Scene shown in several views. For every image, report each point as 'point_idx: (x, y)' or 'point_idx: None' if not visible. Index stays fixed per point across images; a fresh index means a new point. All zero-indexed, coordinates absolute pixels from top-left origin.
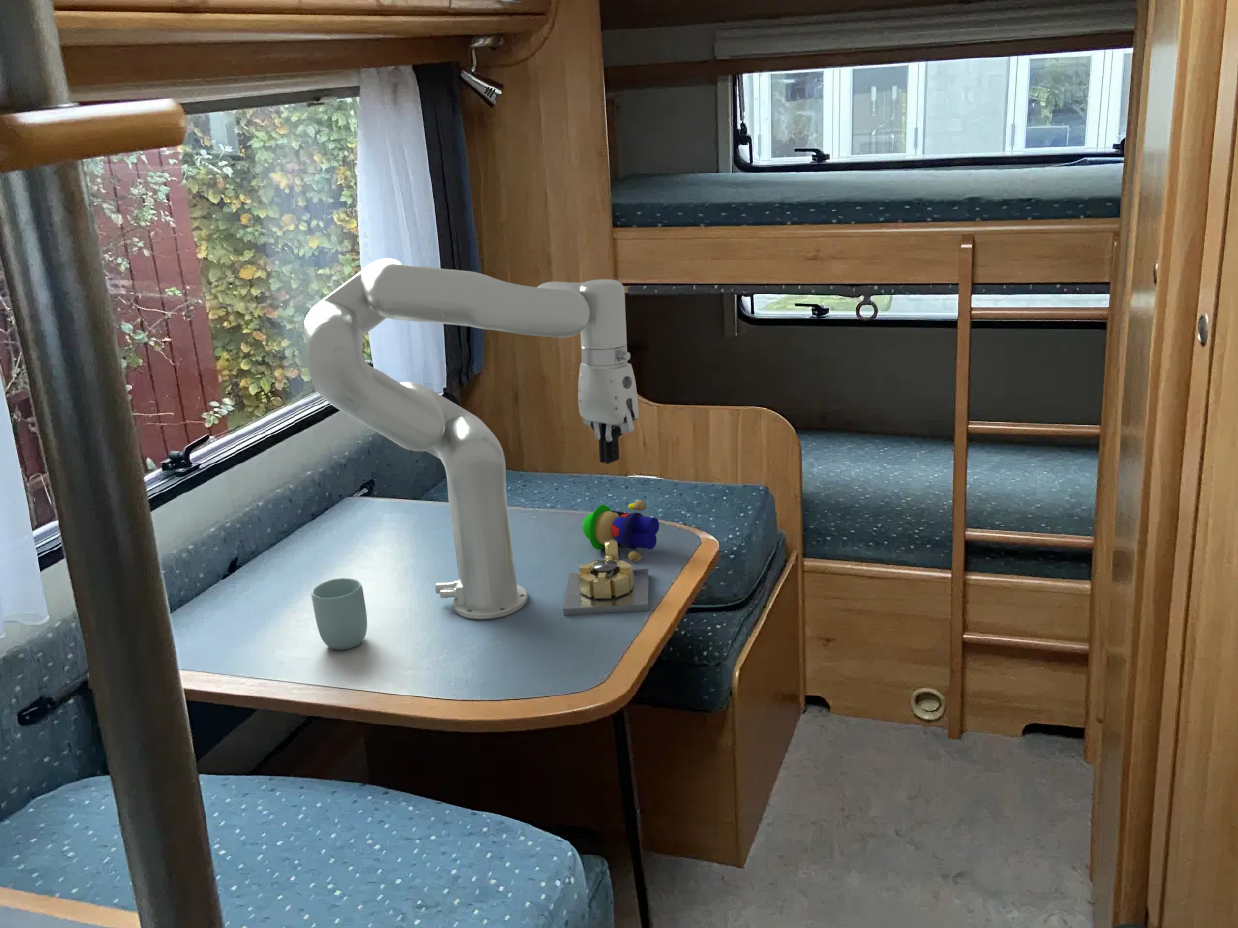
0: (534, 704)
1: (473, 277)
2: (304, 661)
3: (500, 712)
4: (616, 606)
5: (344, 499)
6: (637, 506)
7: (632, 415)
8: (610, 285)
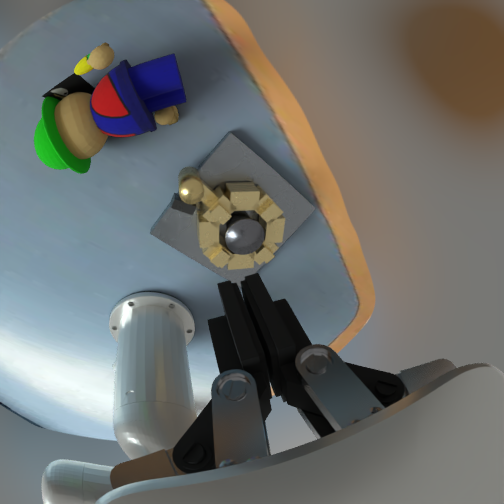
0: (335, 346)
1: None
2: None
3: None
4: (287, 238)
5: None
6: (106, 66)
7: (462, 390)
8: None
